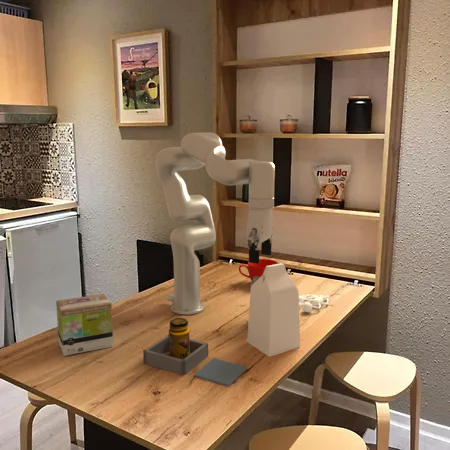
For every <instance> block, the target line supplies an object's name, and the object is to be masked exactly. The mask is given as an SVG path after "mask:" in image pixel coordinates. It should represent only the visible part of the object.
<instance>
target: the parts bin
mask: <svg viewBox="0 0 450 450" xmlns="http://www.w3.org/2000/svg"><path fill="white" fill-rule="evenodd" d="M189 340H190V355H189V356H187V357H186V358H185V359H183V360H182V359H178V358H175V357H171V356H167V355H164V353H165V352H167V351H169V333H168V334H167V335H165V336H163V337H162V338H160V339H159V340H158V341H156V342H155V343H153V344H151V345H150V346H148V347H147V348H145V349H144V350H143V352H142V354H143V364H144V365H147V366H151V367H154V368H157V369H161V370H164V371H168V372H171V373H174V374H177V375H181V376H185V375H187V374H188V373H189V372H190V371H191V370H193V369H194V368H195V367H196V366H198V365H199V364H201V362H203V361H204V360H205V359H207V358H208V357H209V343H208V342H207V343H206V342H203V341H200V340H196V339H191V338H189Z"/></svg>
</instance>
